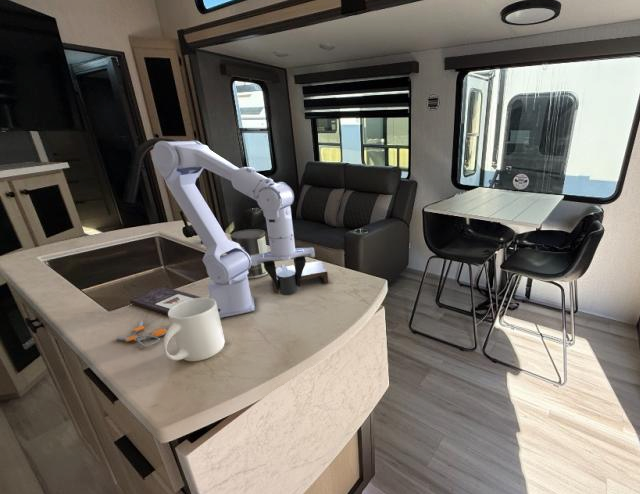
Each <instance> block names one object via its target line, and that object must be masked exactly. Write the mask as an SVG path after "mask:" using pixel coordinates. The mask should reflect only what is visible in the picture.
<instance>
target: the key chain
mask: <svg viewBox="0 0 640 494" xmlns="http://www.w3.org/2000/svg"><path fill="white" fill-rule="evenodd" d="M145 328H146V327H145V325H144V320H141V321H139V322H138V324H137V327H135V328H133V331H134V333H133V334H132V335H130V336H117V338H116V340H119V341H125V342H132V341H135V342H137V343H138V344H140V345H141V346H142V347H144V348H148V347H150V346H152V345H155V344H156V343H158V342H159V341H160V340H161V338H160V337H163V336H165V335H166V332H167V331H168V328H159V329H157V330H154V331H152V332H151V333H150V334H144V333H139V334H137V333H138V332H139V331H142V330H144V329H145ZM147 338H148V339H152V338H154V339H157V340H155V341H153V342H151V343H149V344H144V343H143V342H142V341H144V340H146V339H147Z"/></svg>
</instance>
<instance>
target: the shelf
mask: <svg viewBox="0 0 640 494" xmlns="http://www.w3.org/2000/svg"><path fill="white" fill-rule="evenodd" d="M286 267H287V270H292V271H295V265H294V264H292V265H286ZM281 271H282V268H281V266H279V267H276V274H278V273H279V272H281ZM328 275H329V274H328V271H327V268H326V267H325V265H324V264H323V263H322V261H321V260H318V261H312V262H306V264H305V267H304V269H303V272H302V275H301V280H305V279H310V278H315V277H320V279H321V280H322V282H323V283H324V284H329V276H328ZM277 280H278V279H277ZM272 285H273V289H274V293H275V294H277V293H279V290H276V286H275V284H274V282H273V281H272Z"/></svg>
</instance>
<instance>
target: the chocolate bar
mask: <svg viewBox="0 0 640 494" xmlns="http://www.w3.org/2000/svg"><path fill="white" fill-rule="evenodd" d="M195 298H203V296H198V295H195V294H191V293H189V292H184V291H181V290H176V289H173V288H169V287H166V286H161V287H159V288H156V289H153V290H151V291H149V292H146V293H144V294H141V295H138V296H136V297H134V298H131V299H129V302H130V304H133V305H136V306H139V307H142V308H144V309H148V310H150V311H154V312H158V313H161V314H164V315H167V316H168V311H169V310H170V309H171V308H172V307H173V306H175V305H177V304H179V303H181V302H184V301H187V300H190V299H195Z"/></svg>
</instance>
